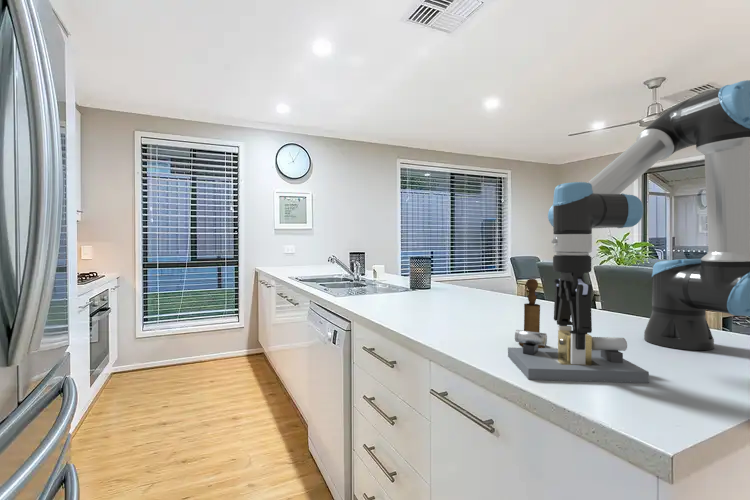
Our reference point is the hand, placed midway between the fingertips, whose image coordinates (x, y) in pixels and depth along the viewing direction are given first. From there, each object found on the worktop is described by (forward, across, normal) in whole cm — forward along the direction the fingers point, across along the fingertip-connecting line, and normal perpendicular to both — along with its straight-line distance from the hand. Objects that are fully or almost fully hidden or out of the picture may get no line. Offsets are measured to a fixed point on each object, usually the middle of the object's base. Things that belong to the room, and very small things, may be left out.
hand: (570, 358), depth 85 cm
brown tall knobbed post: (+2, -19, -2) cm, 19 cm away
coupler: (+1, 0, +1) cm, 2 cm away
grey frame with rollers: (+2, 0, 0) cm, 2 cm away
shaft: (0, -4, -7) cm, 8 cm away
